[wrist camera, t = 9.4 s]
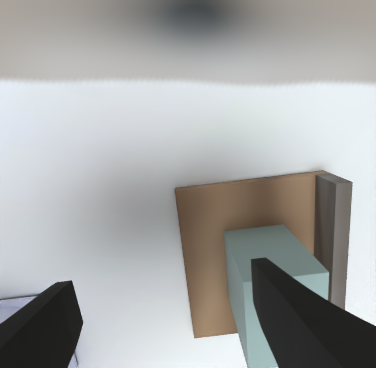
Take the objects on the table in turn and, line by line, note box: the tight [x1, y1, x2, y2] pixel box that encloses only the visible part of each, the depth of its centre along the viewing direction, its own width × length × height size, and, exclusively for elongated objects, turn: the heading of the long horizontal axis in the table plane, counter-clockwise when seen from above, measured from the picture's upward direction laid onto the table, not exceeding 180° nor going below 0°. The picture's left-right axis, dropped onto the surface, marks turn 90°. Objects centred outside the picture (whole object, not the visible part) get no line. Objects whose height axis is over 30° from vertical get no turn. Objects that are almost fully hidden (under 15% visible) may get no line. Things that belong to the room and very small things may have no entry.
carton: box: [224, 224, 329, 368], centre depth 17 cm, size 5×6×6 cm
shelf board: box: [175, 171, 352, 338], centre depth 19 cm, size 11×13×3 cm
